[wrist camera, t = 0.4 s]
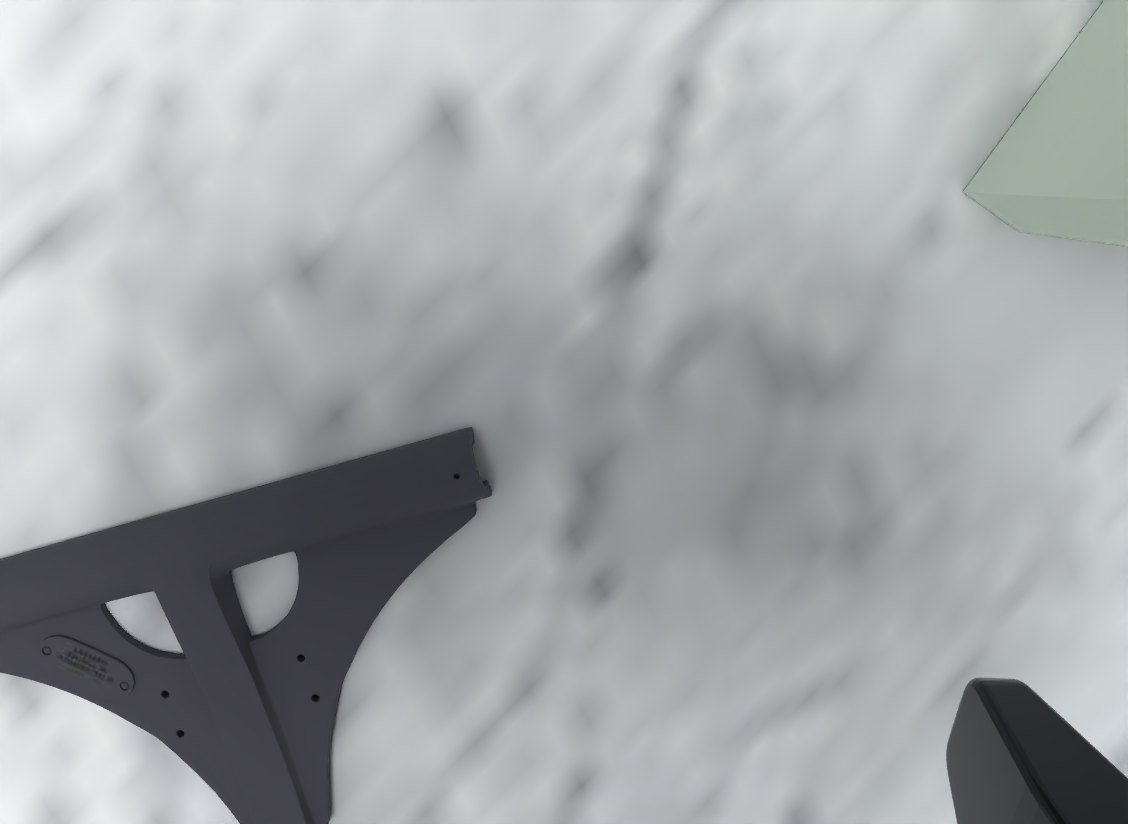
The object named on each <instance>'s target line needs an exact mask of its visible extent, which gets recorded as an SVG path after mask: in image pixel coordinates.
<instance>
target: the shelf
mask: <svg viewBox="0 0 1128 824" xmlns="http://www.w3.org/2000/svg"><path fill="white" fill-rule="evenodd" d="M963 193H965V194H966V195H968V196H969V197H970V198H972V199H973V200H975V201H976V202H977V203H979V204H980V205H982V206H983V207H984V208H986V209H987V210H989V211H990V212H991V213H993V214H994V215H996V216H997V217H998V218H1000V219H1001V220H1003V221H1004V222H1005V223H1007V224H1008V225H1010V226H1011V227H1012V228H1014V229H1015V230H1017V231H1018V232H1024V233H1032V234H1039V235H1046V236H1054V237H1061V238H1068V239H1076V240H1083V241H1090V242H1098V243H1105V244H1112V245H1120V246H1127V247H1128V0H1104V1H1103V2H1102V4H1101V5H1100V6H1099V8H1098V9H1097V10H1096V12H1095V13H1094V14H1093V16H1092V17H1091V19H1090V20H1089V21H1088V23H1087V24H1086V25H1085V27H1084V28H1083V29H1082V31H1081V32H1080V33H1079V35H1078V36H1077V38H1076V39H1075V40H1074V42H1073V43H1072V44H1071V46H1070V47H1069V48H1068V50H1067V51H1066V52H1065V54H1064V55H1063V57H1062V58H1061V59H1060V61H1059V62H1058V63H1057V65H1056V66H1055V67H1054V69H1053V70H1052V71H1051V73H1050V74H1049V76H1048V77H1047V78H1046V80H1045V81H1044V82H1043V84H1042V85H1041V86H1040V88H1039V89H1038V90H1037V92H1036V93H1035V95H1034V96H1033V97H1032V99H1031V100H1030V101H1029V103H1028V104H1027V105H1026V107H1025V108H1024V109H1023V111H1022V112H1021V114H1020V115H1019V116H1018V118H1017V119H1016V120H1015V122H1014V123H1013V124H1012V126H1011V127H1010V128H1009V130H1008V131H1007V133H1006V134H1005V135H1004V137H1003V138H1002V139H1001V141H1000V142H999V143H998V145H997V146H996V148H995V149H994V150H993V152H992V153H991V154H990V156H989V157H988V158H987V160H986V161H985V162H984V164H983V165H982V167H981V168H980V169H979V171H978V172H977V173H976V175H975V176H974V177H973V179H972V180H971V181H970V183H969V184H968V186H967V187H966V188H965V190H964V191H963Z"/></svg>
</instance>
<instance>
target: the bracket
mask: <svg viewBox="0 0 1128 824" xmlns="http://www.w3.org/2000/svg"><path fill="white" fill-rule="evenodd" d="M472 443H474V435H473V430H472V428H471V427H470V428H466V429H462V430H459V431H455V432H451V433H448V434H444V435H441V436H437V437H434V438H430V439H427V440H423V441H419V442H416V443H412V444H409V445H405V446H402V447H398V448H395V449H391V450H387V451H384V452H380V453H377V454H373V455H370V456H366V457H363V458H359V459H355V460H352V461H348V462H345V463H341V464H338V465H334V466H331V467H327V468H323V469H320V470H316V471H313V472H309V473H306V474H302V475H299V476H295V477H291V478H288V479H284V480H281V481H277V482H274V483H270V484H267V485H263V486H259V487H256V488H252V489H249V490H245V491H242V492H238V493H235V494H231V495H227V496H224V497H220V498H217V499H213V500H210V501H206V502H203V503H199V504H195V505H192V506H188V507H185V508H181V509H178V510H174V511H171V512H167V513H163V514H160V515H156V516H153V517H149V518H146V519H142V520H139V521H135V522H131V523H128V524H124V525H121V526H117V527H114V528H110V529H107V530H103V531H99V532H96V533H92V534H89V535H85V536H82V537H78V538H75V539H71V540H67V541H64V542H60V543H57V544H53V545H50V546H46V547H43V548H39V549H35V550H32V551H28V552H25V553H21V554H18V555H14V556H11V557H7V558H3V559H0V672H1V673H5V674H10V675H15V676H19V677H23V678H26V679H30V680H34V681H37V682H40V683H44V684H47V685H50V686H53V687H56V688H58V689H61V690H64V691H67V692H69V693H72V694H74V695H77V696H79V697H82V698H84V699H86V700H88V701H91V702H93V703H95V704H97V705H99V706H101V707H103V708H105V709H107V710H109V711H111V712H113V713H115V714H117V715H119V716H120V717H122V718H124V719H126V720H127V721H129V722H131V723H133V724H134V725H136V726H138V727H140V728H142V729H144V730H145V731H147V732H149V733H151V734H152V735H154V736H155V737H157V738H158V739H159V740H161V741H162V742H163V743H164V744H165V745H167V746H168V747H169V748H170V749H171V750H172V751H173V752H175V753H176V754H177V755H178V756H179V757H180V758H181V759H182V760H183V761H184V762H185V763H187V764H188V765H189V766H190V767H191V768H192V769H193V770H194V771H195V772H196V773H197V774H198V775H199V776H200V777H201V778H202V779H203V780H204V781H205V782H206V783H207V784H208V785H209V786H210V787H211V788H212V789H213V790H214V791H215V792H216V794H217V795H218V796H219V797H220V798H221V800H222V801H223V802H224V803H225V805H226V806H227V807H228V808H229V810H230V811H231V812H232V814H233V815H234V816H235V818H236V819H237V820H238V822H239V823H240V824H328V823H329V821H330V786H329V754H330V744H331V735H332V730H333V725H334V720H335V715H336V710H337V705H338V700H339V695H340V691H341V686H342V683H343V680H344V677H345V675H346V673H347V671H348V669H349V667H350V664H351V662H352V660H353V658H354V656H355V654H356V652H357V650H358V648H359V646H360V644H361V642H362V640H363V638H364V636H365V635H366V633H367V631H368V629H369V628H370V626H371V624H372V623H373V621H374V620H375V618H376V617H377V615H378V614H379V612H380V611H381V609H382V608H383V606H384V605H385V604H386V602H387V601H388V600H389V599H390V597H391V596H392V595H393V593H394V592H395V591H396V590H397V589H398V587H399V586H400V585H401V584H402V583H403V581H404V580H405V579H406V578H407V577H408V576H409V575H410V574H411V573H412V572H413V571H414V570H415V568H416V567H417V566H418V565H419V564H421V563H422V562H423V561H424V560H425V559H426V558H427V557H428V556H429V555H430V554H431V553H432V552H433V551H434V550H435V549H437V548H438V547H439V546H440V545H441V544H442V543H443V542H444V541H446V540H447V539H448V538H449V537H450V536H452V535H453V534H454V533H455V532H456V531H458V530H459V529H460V528H461V527H463V526H464V525H465V524H466V523H467V522H469V521H470V520H471V519H472V518H473V517H474V516H475V514H476V506H475V503H474V501H477V500H480V499H483V498H486V497H490V496H491V495H492V490H491V487H490V485H489V483H488V482H487V480H486V481H481V479H480V476H479V474H478V471H477V467H476V464H475V460H474V455H473V449H472ZM292 551H293V552H295V553H296V556H297V560H298V568H299V585H298V592H297V595H296V599H295V602H294V604H293V606H292V608H291V610H290V612H289V613H288V615H287V616H286V618H285V619H284V620H283V621H281V622H280V623H279V624H278V625H277V626H276V627H274V628H273V629H271V630H270V631H268V632H267V633H264V634H262V635H258V636H254V637H252V636H251V634H250V631H249V629H248V626H247V624H246V621H245V618H244V616H243V613H242V610H241V607H240V604H239V601H238V598H237V595H236V591H235V588H234V584H233V580H232V575H231V570H233V569H235V568H238V567H241V566H244V565H247V564H250V563H253V562H256V561H260V560H263V559H266V558H270V557H273V556H276V555H280V554H284V553H287V552H292ZM151 591H154V592H155V593H156V595H157V597H158V600H159V602H160V604H161V606H162V608H163V611H164V613H165V615H166V617H167V619H168V621H169V623H170V625H171V627H172V629H173V631H174V633H175V636H176V638H177V640H178V642H179V644H180V646H181V648H182V650H183V652H184V654H177V653H169V652H164V651H160V650H157V649H154V648H151V647H149V646H147V645H145V644H143V643H141V642H139V641H138V640H136V639H134V638H133V637H132V636H130V635H129V634H128V633H127V632H126V631H125V630H124V629H123V628H122V627H121V626H120V625H119V624H118V623H117V621H116V620H115V619H114V617H113V616H112V615H111V614H110V612H109V610H108V609H107V607H106V604H105V603H106V602H109V601H113V600H117V599H121V598H125V597H129V596H133V595H137V594H141V593H146V592H151ZM301 654H302V655H304V656H305V657H304V656H302V655H301ZM316 694H317V695H318V696H317V695H316Z"/></svg>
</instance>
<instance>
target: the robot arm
mask: <svg viewBox="0 0 1128 824" xmlns="http://www.w3.org/2000/svg"><path fill="white" fill-rule="evenodd" d="M946 760H947V770H948V776H949V782H950V787H951V793H952V798H953V803H954V809H955V814H956V819H957V824H1128V778H1127V777H1126V776H1125V775H1124V774H1122V773H1121V772H1120V771H1119V770H1118V769H1117V768H1116V767H1115V766H1114V765H1113V764H1112V763H1111V762H1110V761H1108V760H1107V759H1106V758H1105V757H1104V756H1103V755H1102V754H1101V753H1100V752H1099V751H1098V750H1097V749H1096V748H1095V747H1093V746H1092V745H1091V744H1090V743H1089V742H1088V741H1087V740H1086V739H1085V738H1084V737H1083V736H1082V735H1081V734H1079V733H1078V732H1077V731H1076V730H1075V729H1074V728H1073V727H1072V726H1071V725H1070V724H1069V723H1068V722H1067V721H1065V720H1064V719H1063V718H1062V717H1061V716H1060V715H1059V714H1058V713H1057V712H1056V711H1055V710H1054V709H1053V708H1051V707H1050V706H1049V705H1048V704H1047V703H1046V702H1045V701H1044V700H1043V699H1042V698H1041V697H1040V696H1039V695H1037V694H1036V693H1035V692H1034V691H1033V690H1032V689H1031V688H1030V687H1029V686H1027V685H1026V684H1025V683H1023V682H1021V681H1019V680H1016V679H1000V678H975V679H972V680H971V681H970V682H969V683H968V684H967V686H966V688H965V690H964V693H963V696H962V699H961V702H960V705H959V708H958V711H957V714H956V718H955V721H954V724H953V727H952V730H951V733H950V736H949V740H948V744H947V754H946Z"/></svg>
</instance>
